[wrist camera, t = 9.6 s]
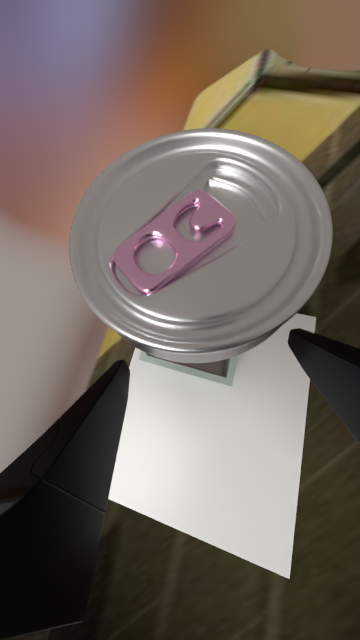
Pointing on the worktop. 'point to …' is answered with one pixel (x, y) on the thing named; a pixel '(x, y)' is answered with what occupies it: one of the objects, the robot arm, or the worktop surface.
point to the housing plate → (219, 447)
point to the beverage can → (200, 243)
